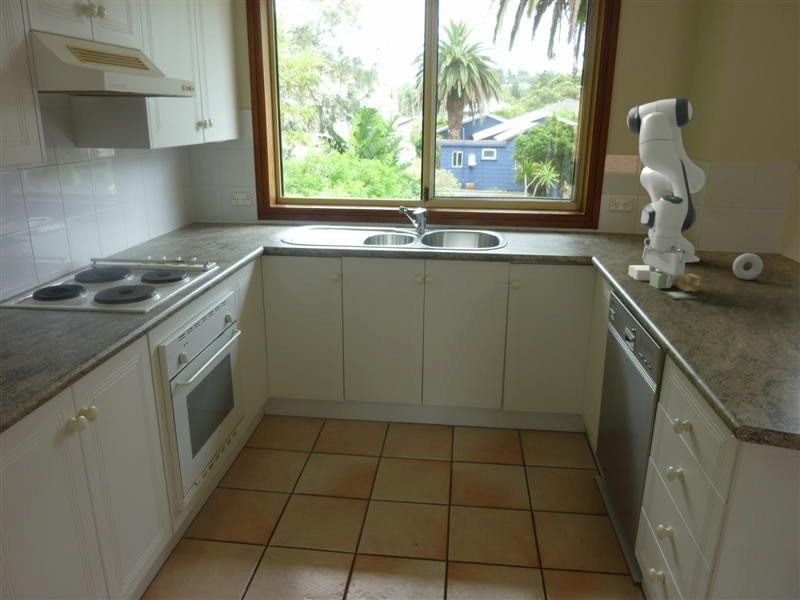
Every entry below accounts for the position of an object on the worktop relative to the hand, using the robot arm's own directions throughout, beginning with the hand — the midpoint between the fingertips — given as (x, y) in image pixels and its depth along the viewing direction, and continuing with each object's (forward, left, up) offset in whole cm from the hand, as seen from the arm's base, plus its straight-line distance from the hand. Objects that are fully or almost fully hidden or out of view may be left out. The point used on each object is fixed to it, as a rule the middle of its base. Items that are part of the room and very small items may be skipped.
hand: (660, 282), depth 212 cm
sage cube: (0, 0, -2) cm, 2 cm away
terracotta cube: (-6, -4, -2) cm, 7 cm away
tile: (0, +11, -2) cm, 11 cm away
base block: (-1, -13, -2) cm, 13 cm away
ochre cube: (-8, +4, -2) cm, 9 cm away
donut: (-38, -6, -2) cm, 39 cm away
